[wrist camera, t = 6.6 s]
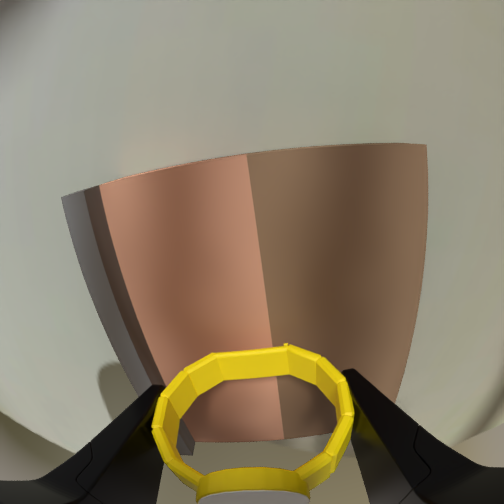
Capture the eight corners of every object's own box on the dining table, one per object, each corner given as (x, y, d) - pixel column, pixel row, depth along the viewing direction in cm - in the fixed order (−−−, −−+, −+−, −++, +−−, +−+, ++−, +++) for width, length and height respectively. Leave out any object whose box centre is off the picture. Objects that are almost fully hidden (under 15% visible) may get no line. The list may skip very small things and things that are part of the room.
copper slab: (400, 142, 10) (442, 146, 7) (379, 395, 15) (394, 432, 12) (103, 182, 10) (61, 197, 8) (184, 416, 15) (175, 454, 13)
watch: (326, 316, 10) (392, 459, 4) (327, 370, 11) (371, 496, 5) (161, 341, 10) (121, 487, 4) (183, 391, 11) (166, 519, 5)
